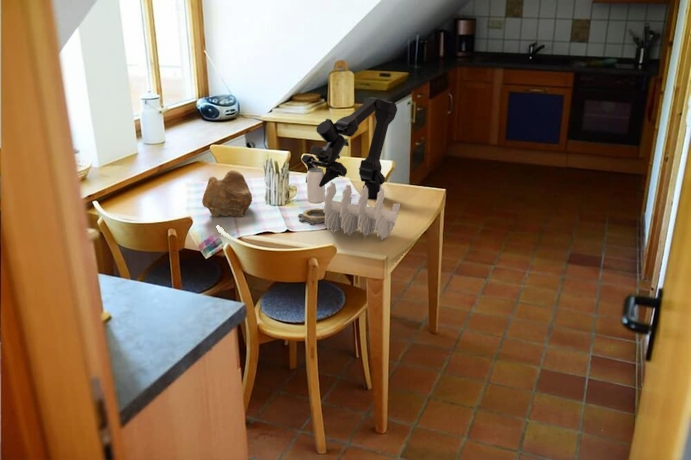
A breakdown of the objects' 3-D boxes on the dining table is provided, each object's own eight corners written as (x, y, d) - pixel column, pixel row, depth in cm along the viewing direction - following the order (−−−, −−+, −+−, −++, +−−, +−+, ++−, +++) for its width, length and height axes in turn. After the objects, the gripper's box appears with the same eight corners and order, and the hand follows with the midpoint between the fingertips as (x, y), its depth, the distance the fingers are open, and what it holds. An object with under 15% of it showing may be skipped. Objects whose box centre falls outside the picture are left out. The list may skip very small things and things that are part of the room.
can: (325, 203, 238) (325, 171, 234) (308, 204, 237) (307, 172, 233) (323, 197, 244) (323, 167, 240) (306, 198, 243) (305, 167, 239)
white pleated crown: (388, 254, 222) (321, 240, 229) (403, 218, 233) (338, 206, 240) (385, 216, 209) (314, 203, 216) (401, 180, 220) (332, 169, 227)
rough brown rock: (235, 228, 235) (237, 188, 230) (196, 218, 240) (196, 180, 235) (265, 210, 256) (267, 173, 251) (228, 201, 261) (229, 165, 256)
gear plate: (340, 213, 248) (340, 208, 247) (331, 226, 235) (331, 221, 234) (304, 210, 251) (304, 205, 250) (293, 223, 238) (293, 218, 237)
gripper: (303, 133, 241) (283, 168, 237) (341, 141, 229) (320, 178, 226) (319, 149, 249) (299, 184, 246) (356, 158, 238) (336, 194, 234)
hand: (313, 184), depth 237 cm, fingers closed on can, 6 cm apart
